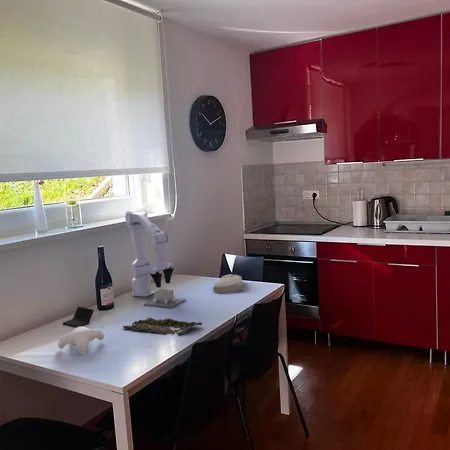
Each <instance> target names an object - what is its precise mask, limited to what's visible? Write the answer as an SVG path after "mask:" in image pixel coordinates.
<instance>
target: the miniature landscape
mask: <svg viewBox="0 0 450 450" xmlns="http://www.w3.org/2000/svg"><path fill="white" fill-rule="evenodd" d="M131 324H132V325H131V326H128V325H123V326H122V327H123V329H124V330H125V331H127V330H130V331H131V332H132V331H134V332H140V331H143V333H148V334H150V333H156V334H158V335H170V336H172V335H173V336H175V334H176V335H177V336H180V335H181V334H182V335H183V334H185V333H186V332H188V330H190V329H192V327H193V328H194V327H195V326H196V327H197V326H202V325H203V322H201V321H199V322H196V321H191V322H188V321H183V320H182V321H178V320H176V319H172V318H165V319H161V318H159V319H155V318H153V317H148V318H146V319H142V320H141V319H138V321H137V320H134V322H132V323H131ZM134 324H135V325H134ZM172 328H174V329H172Z"/></svg>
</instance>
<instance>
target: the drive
mask: <svg viewBox="0 0 450 450" xmlns="http://www.w3.org/2000/svg"><path fill="white" fill-rule="evenodd" d="M154 292H155V293H154V297H155V299H156V302H160V303H165V300H167V303H171V302H173V298H174V296H175V295H174V289H167V288H165V289H164V288H158V289H156V290H154Z"/></svg>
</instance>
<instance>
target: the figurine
mask: <svg viewBox="0 0 450 450" xmlns="http://www.w3.org/2000/svg"><path fill="white" fill-rule="evenodd" d="M104 338H105V334H104V333H103V331H102V330H101V329H100V328H95V329H94V328H89V327H86V326H82V327H74V329H72V331H71V332H69V333H67V334H66V335H63V336H61V337H60V338H59V341H58V343H57V347H58V348H59V349H61V350H62V349H64V348H65V347H66V346H67V345H73V346H76V348H77V350H78V352H79V354H81V355H86V354H87V353H88V351H89V345H90V342H92V341H93V340H95V339H97V340H99V341H103V340H104Z"/></svg>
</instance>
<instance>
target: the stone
mask: <svg viewBox="0 0 450 450" xmlns="http://www.w3.org/2000/svg"><path fill="white" fill-rule="evenodd" d="M212 290H213V292H214V293H215V294H233V293H239V292H241V291H243V290H244V281H243V278H242V276H241V275H238V274H231V273H230V274H226V275H222V276H221V277H220V278H219V280H217V282H215V283H214V285H213V287H212ZM232 292H233V293H232Z"/></svg>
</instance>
